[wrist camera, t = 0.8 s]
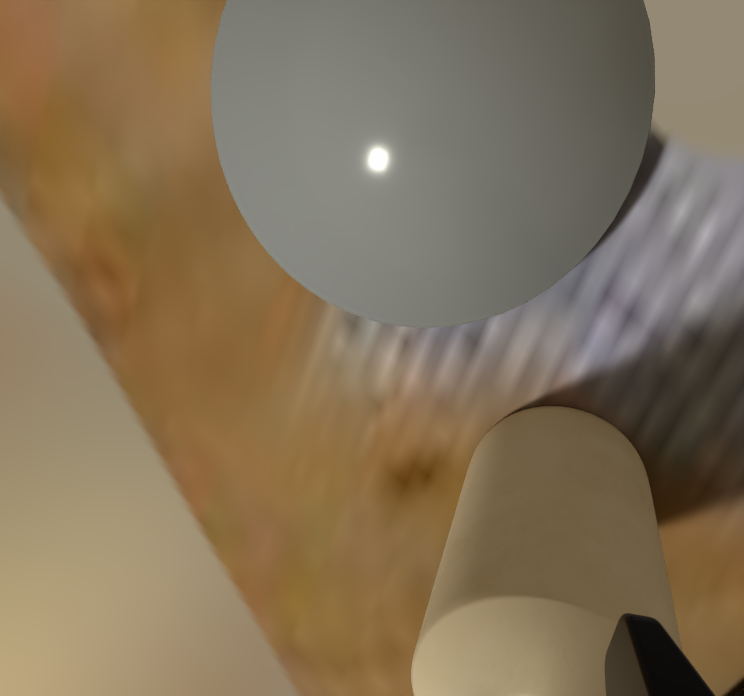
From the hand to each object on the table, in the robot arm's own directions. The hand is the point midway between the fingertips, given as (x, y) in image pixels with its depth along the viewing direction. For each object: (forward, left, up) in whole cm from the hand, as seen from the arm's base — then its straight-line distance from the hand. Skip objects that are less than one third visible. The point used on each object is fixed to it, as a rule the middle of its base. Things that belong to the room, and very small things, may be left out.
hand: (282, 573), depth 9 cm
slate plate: (+3, -5, -12) cm, 13 cm away
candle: (-6, +3, -12) cm, 14 cm away
